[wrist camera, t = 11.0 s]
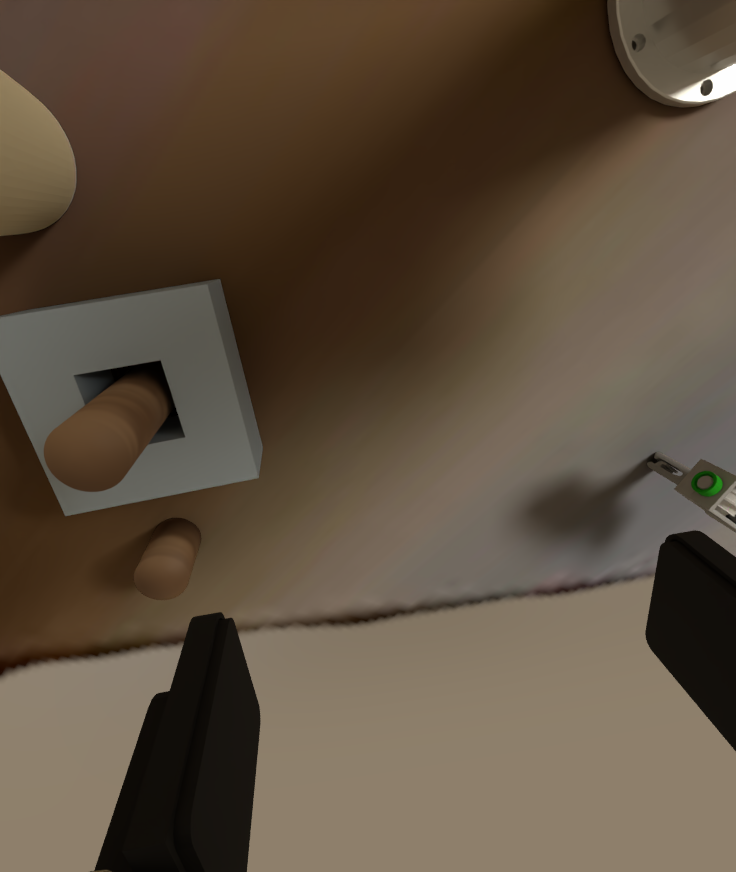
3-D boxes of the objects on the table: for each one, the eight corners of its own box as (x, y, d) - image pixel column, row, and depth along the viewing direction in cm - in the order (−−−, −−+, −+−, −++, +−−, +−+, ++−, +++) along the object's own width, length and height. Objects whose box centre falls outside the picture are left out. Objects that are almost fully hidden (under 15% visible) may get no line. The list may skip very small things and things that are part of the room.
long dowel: (121, 365, 31) (30, 428, 20) (174, 355, 32) (113, 413, 21) (138, 414, 33) (62, 498, 22) (189, 404, 33) (140, 483, 22)
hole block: (25, 310, 29) (-25, 321, 25) (219, 278, 30) (207, 284, 26) (96, 480, 34) (65, 516, 29) (262, 447, 35) (258, 477, 30)
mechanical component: (680, 499, 43) (787, 567, 33) (604, 446, 39) (699, 507, 30) (703, 473, 42) (819, 536, 33) (628, 417, 39) (733, 470, 29)
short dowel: (147, 523, 36) (126, 563, 31) (194, 513, 36) (179, 552, 31) (161, 560, 37) (143, 604, 32) (206, 551, 37) (194, 593, 33)
